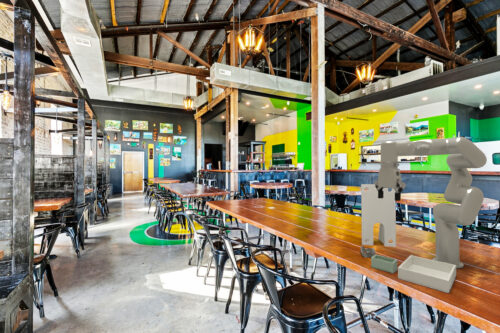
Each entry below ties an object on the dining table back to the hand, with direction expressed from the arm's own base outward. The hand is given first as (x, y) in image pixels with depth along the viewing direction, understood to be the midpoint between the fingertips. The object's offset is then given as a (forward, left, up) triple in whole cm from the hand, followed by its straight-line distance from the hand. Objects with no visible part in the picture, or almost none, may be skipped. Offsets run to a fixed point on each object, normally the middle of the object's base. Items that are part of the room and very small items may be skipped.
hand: (388, 199), depth 119 cm
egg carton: (-12, -15, -35) cm, 40 cm away
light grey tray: (-2, +15, -35) cm, 38 cm away
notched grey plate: (-39, -20, -35) cm, 56 cm away
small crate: (+2, -2, -35) cm, 35 cm away
